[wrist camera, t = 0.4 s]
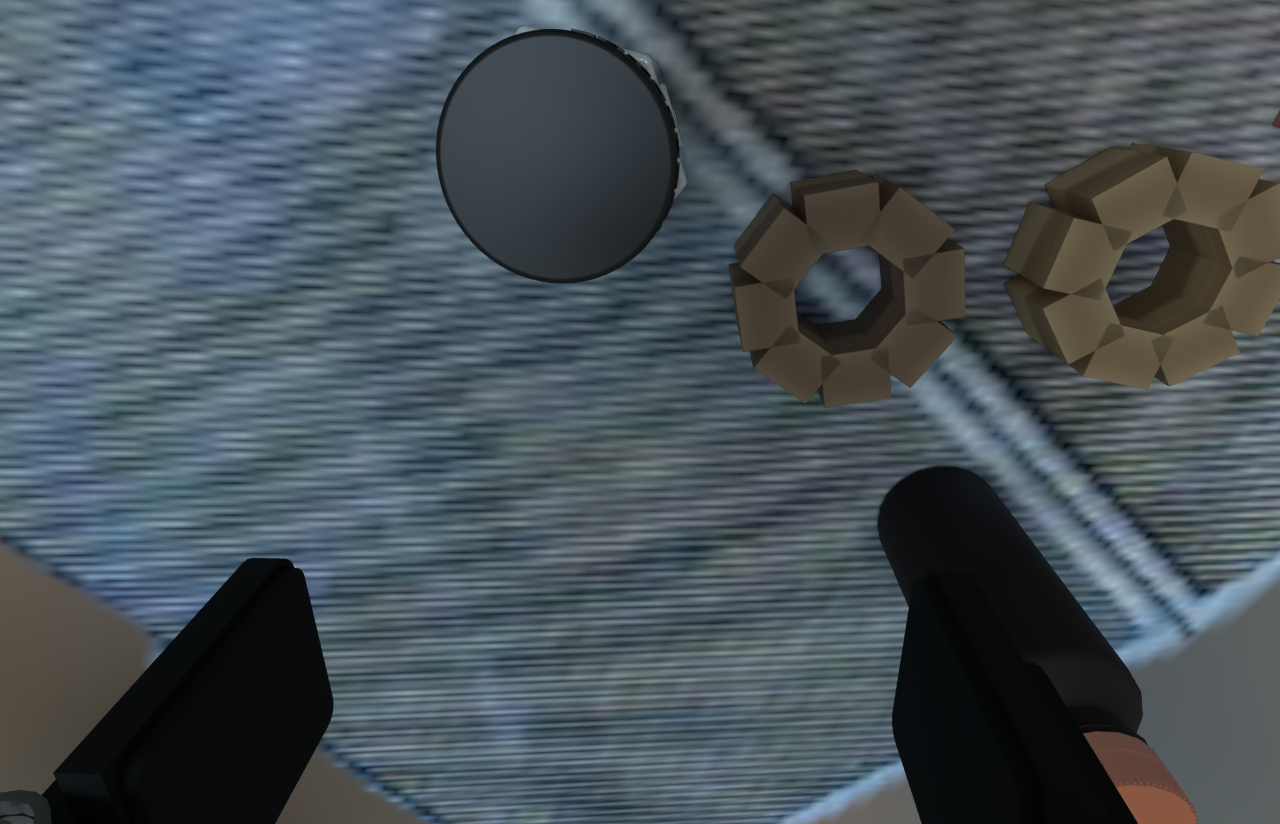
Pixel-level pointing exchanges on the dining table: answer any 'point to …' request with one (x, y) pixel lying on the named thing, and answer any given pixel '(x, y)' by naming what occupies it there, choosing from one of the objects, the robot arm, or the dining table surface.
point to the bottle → (1032, 622)
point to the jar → (560, 154)
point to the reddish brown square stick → (1277, 121)
